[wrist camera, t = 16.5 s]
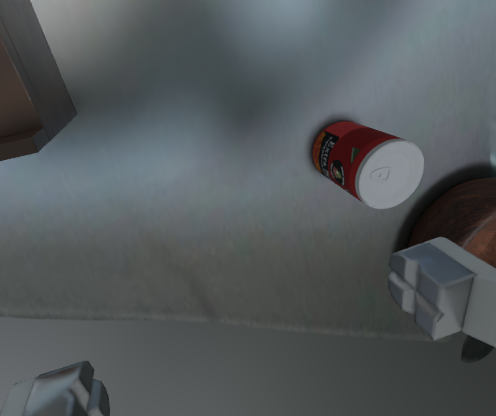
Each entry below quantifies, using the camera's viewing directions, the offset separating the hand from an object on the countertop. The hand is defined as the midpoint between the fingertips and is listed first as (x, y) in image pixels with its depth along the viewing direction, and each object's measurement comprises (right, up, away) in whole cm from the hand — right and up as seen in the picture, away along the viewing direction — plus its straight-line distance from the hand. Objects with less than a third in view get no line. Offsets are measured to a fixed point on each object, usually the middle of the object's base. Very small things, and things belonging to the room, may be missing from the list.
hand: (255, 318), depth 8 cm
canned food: (+12, +11, +35) cm, 38 cm away
